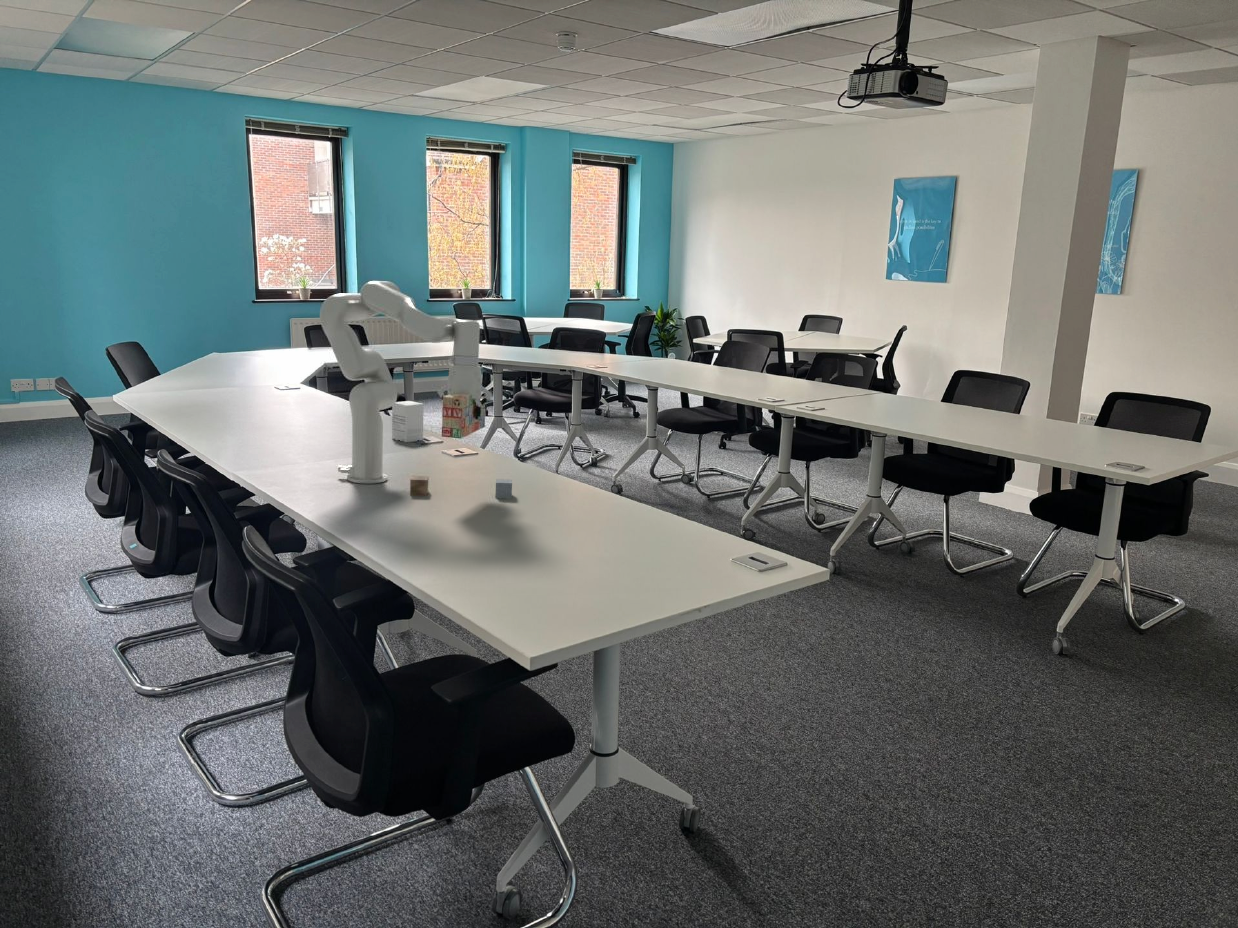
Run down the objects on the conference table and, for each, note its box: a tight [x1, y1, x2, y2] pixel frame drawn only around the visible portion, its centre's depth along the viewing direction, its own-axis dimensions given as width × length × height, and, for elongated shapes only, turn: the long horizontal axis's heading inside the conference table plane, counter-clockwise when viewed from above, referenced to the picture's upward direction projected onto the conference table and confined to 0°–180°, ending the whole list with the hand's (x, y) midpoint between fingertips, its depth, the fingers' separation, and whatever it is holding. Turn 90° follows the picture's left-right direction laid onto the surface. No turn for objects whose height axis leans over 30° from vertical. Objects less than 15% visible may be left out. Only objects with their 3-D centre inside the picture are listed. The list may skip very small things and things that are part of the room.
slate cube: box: [494, 478, 513, 500], centre depth 277 cm, size 5×5×5 cm
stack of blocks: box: [441, 394, 486, 439], centre depth 272 cm, size 21×6×12 cm, turn 169°
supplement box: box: [391, 400, 424, 443], centre depth 352 cm, size 9×9×15 cm
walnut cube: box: [409, 475, 429, 497], centre depth 274 cm, size 5×5×5 cm
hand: (463, 417), depth 272 cm, fingers closed on stack of blocks, 7 cm apart
